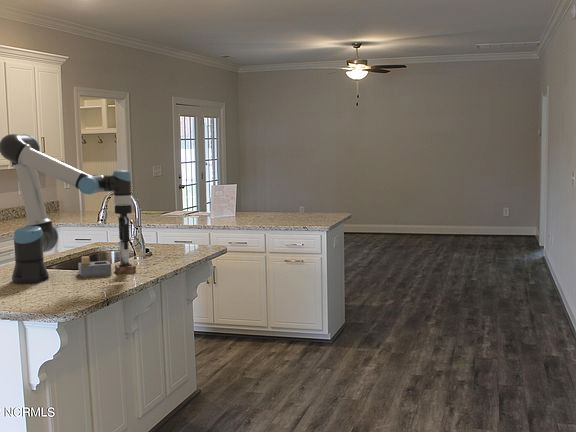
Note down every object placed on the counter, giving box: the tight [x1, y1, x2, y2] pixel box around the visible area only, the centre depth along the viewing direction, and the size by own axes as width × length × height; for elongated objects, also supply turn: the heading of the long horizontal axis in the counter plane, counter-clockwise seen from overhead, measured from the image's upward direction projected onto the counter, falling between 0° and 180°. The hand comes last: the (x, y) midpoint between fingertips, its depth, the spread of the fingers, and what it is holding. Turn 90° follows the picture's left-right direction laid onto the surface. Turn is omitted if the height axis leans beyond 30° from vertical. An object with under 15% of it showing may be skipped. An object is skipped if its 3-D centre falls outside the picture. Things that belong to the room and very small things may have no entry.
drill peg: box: [118, 240, 130, 267], centre depth 306 cm, size 4×4×14 cm
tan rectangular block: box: [81, 255, 91, 265], centre depth 300 cm, size 3×3×7 cm
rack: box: [113, 263, 138, 276], centre depth 307 cm, size 9×9×4 cm
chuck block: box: [77, 260, 113, 279], centre depth 301 cm, size 13×10×6 cm
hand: (124, 255), depth 306 cm, fingers open, 5 cm apart
